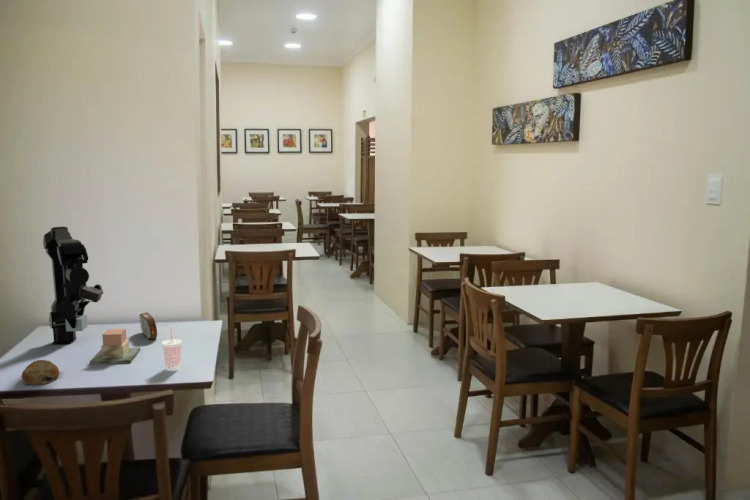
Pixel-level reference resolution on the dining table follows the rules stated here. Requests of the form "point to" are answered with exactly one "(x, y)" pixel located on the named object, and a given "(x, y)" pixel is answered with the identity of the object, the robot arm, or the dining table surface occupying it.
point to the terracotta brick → (114, 337)
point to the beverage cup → (172, 353)
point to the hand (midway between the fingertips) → (76, 325)
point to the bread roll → (40, 372)
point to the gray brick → (78, 323)
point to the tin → (148, 325)
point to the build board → (115, 360)
